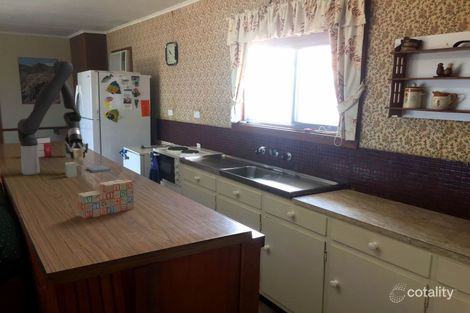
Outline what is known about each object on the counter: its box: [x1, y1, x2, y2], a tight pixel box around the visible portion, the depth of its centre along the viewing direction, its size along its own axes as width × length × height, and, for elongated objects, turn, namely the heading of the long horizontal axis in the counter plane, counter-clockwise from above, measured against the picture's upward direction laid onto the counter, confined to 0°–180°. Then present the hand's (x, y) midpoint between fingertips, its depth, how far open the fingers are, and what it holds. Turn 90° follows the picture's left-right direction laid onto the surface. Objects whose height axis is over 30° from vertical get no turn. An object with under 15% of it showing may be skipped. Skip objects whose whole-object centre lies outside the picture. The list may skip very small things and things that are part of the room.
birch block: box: [71, 148, 84, 167], centre depth 233 cm, size 5×5×10 cm
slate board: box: [85, 164, 112, 174], centre depth 243 cm, size 11×13×2 cm
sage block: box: [64, 161, 78, 178], centre depth 224 cm, size 5×5×8 cm
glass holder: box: [64, 136, 85, 159], centre depth 292 cm, size 9×14×15 cm, turn 115°
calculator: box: [35, 136, 52, 159], centre depth 288 cm, size 11×4×15 cm, turn 143°
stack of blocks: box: [77, 179, 135, 220], centre depth 158 cm, size 21×6×12 cm, turn 134°
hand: (78, 157), depth 232 cm, fingers closed on birch block, 5 cm apart
